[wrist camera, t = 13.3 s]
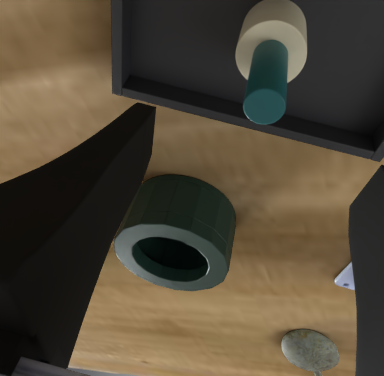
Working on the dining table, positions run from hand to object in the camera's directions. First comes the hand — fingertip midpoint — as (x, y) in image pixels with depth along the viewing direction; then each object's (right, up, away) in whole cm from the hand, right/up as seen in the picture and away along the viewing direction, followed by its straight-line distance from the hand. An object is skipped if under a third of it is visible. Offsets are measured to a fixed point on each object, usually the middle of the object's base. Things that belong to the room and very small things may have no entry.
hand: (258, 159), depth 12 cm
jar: (-3, -3, +19) cm, 20 cm away
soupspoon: (+15, -25, +37) cm, 47 cm away
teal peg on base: (+2, +7, +7) cm, 10 cm away
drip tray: (+2, +7, +7) cm, 10 cm away
